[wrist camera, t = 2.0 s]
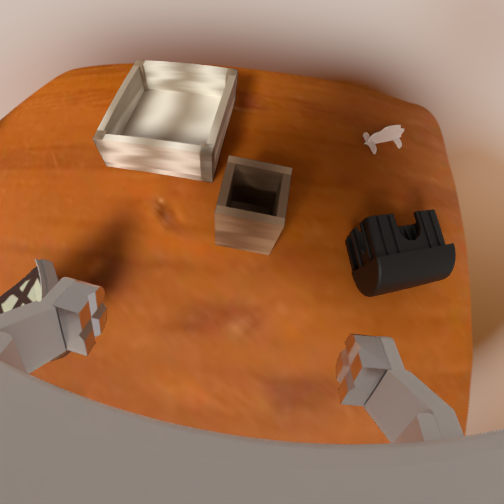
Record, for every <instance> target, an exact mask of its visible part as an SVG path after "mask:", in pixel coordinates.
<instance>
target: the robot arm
mask: <svg viewBox="0 0 504 504" xmlns="http://www.w3.org/2000/svg"><path fill="white" fill-rule="evenodd" d="M104 299H105V291H104V288H103V287H101V286H98V285H94V284H90V283H87V282H83V281H80V280H76V279H72V278H69V277H63V278H62V279H61V280H60V281H59V282H58V283H57V284H56V285H55V286H54V287H53V288H52V289H51V290H50V291H49V292H48V294H47V295H46V296H45V297H44V298H43V299H42V300H41V301H40V302H39V301H34V302H31V303H29V304H26V305H23V306H21V307H18V308H15V309H12V310H10V311H7V312H4V313H2V314H0V504H504V429H500V430H496V431H491V432H486V433H480V434H475V435H469V436H464V435H463V432H462V429H461V427H460V424H459V421H458V419H457V416H456V414H455V411H454V410H453V409H452V408H451V407H450V406H449V405H448V404H446V403H445V402H444V401H443V400H442V399H441V398H440V397H438V396H437V395H436V394H435V393H434V392H433V391H432V390H430V389H429V388H428V387H427V386H426V385H425V384H424V383H422V382H421V381H420V380H419V379H418V378H417V377H416V376H414V375H413V374H412V373H411V372H410V371H405V368H404V365H403V363H402V360H401V358H400V355H399V353H398V350H397V348H396V345H395V343H394V340H393V339H392V338H391V337H381V336H377V337H376V336H367V335H359V334H350V335H349V336H348V337H347V339H346V341H345V345H346V349H344V350H343V351H341V352H340V354H339V357H338V359H337V363H336V379H337V380H338V381H339V382H340V383H341V384H340V386H339V388H338V391H339V397H340V403H341V404H344V405H357V406H364V408H365V410H366V411H367V412H368V414H369V415H370V416H371V417H372V419H373V420H374V421H375V423H376V424H377V425H378V427H379V428H380V429H381V430H382V432H383V433H384V434H385V436H386V437H387V438H388V440H389V441H390V442H391V443H390V444H321V443H303V442H290V441H279V440H269V439H260V438H252V437H245V436H238V435H232V434H225V433H219V432H214V431H208V430H203V429H198V428H193V427H188V426H184V425H179V424H175V423H171V422H166V421H162V420H158V419H154V418H151V417H147V416H143V415H140V414H136V413H132V412H129V411H126V410H122V409H119V408H116V407H113V406H110V405H106V404H103V403H100V402H97V401H95V400H92V399H89V398H86V397H83V396H80V395H78V394H75V393H72V392H70V391H67V390H65V389H62V388H60V387H57V386H55V385H52V384H50V383H48V382H45V381H43V380H41V379H38V378H36V377H34V376H31V375H29V373H31V372H33V371H34V370H36V369H37V368H39V367H41V366H42V365H44V364H45V363H47V362H49V361H50V360H52V359H54V358H55V357H57V356H58V355H60V354H62V353H63V352H65V351H66V350H69V351H73V352H76V353H79V354H82V355H86V356H88V355H89V353H90V351H91V350H92V348H93V346H94V345H95V343H96V342H95V337H96V336H98V335H100V334H101V333H102V332H103V330H104V328H105V324H106V321H107V308H106V307H105V305H104V304H103V303H102V302H103V300H104Z"/></svg>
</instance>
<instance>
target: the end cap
mask: <svg viewBox="0 0 504 504" xmlns="http://www.w3.org/2000/svg"><path fill="white" fill-rule="evenodd" d="M414 216H415V219H416V223H415V224H413V225H406V226H398V227H397V224H396V221H395V218H394V215H393V214H386V215H377V216H370V217H367V218H365V219H364V220H363V221H362V222H361V223H360V227H361V231H359V230H358V228H354V229H353V230H352V231H351V232H350V235H351V236H349V237H347V238H346V240H345V243H346V247H347V251H348V255H349V259H350V264H351V268H352V275H353V279H354V281H355V284H356V286H357V288H358V289H359V291H360V292H361V293H362V294H363V295H365V296H368V297H373V296H377V295H382V294H386V293H390V292H394V291H399V290H403V289H407V288H411V287H415V286H419V285H423V284H427V283H431V282H435V281H439V280H442V279H445V278H447V277H448V276H449V275H450V273H451V272H452V270H453V268H454V264H455V247H454V243H453V244H447V245H445V241H444V238H443V235H442V232H441V228H440V225H439V222H438V219H437V216H436V213H435V210H425V211H416V212H414Z"/></svg>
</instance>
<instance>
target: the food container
mask: <svg viewBox="0 0 504 504" xmlns="http://www.w3.org/2000/svg"><path fill="white" fill-rule="evenodd" d="M35 261H36V264H37V267H36V268H34V269H33V270H32V271H31V272H30V273H29V274H28V275H27V276H26V277H25V278H23V279H22V280H21V281H20V282H19V283H17V284H16V285H15V286H14V287H12V288H11V289H10V290H8V291H7V292H6V293H4V294H3V295H2V296H0V314H2V313H4V312H7V311H10V310H12V309H15V308H18V307H21V306H23V305H26V304H29V303H31V302H34V301H39V302H40V301H41V300H42V299H43V298H44V297H45V296H46V295H47V294H48V292H49V291H50V290H51V289H52V288H53V287H54V286H55V285H56V284H57V283H58V282H59V281H60V280H61V278H60V277H59V276H57V275H56V271H55V269H54V266H53V263H52V262H51V261H48V260H44V259H41V260H37V259H35ZM70 352H71V351H69V350H66V351H65V352H63V353H62V354H60V355H58V356H57V357H55V358H54V359H52V360H50V361H54V360H57V359H60V358H63V357H64V356H66V355H68V354H69V353H70Z"/></svg>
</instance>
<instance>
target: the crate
mask: <svg viewBox="0 0 504 504" xmlns="http://www.w3.org/2000/svg"><path fill="white" fill-rule="evenodd" d="M237 77H238V70H236V69H230V68H223V67H215V66H207V65H198V64H189V63H178V62H164V61H163V62H162V61H145V60H137V61H136V62H135V64H134V65H133V67H132V69H131V70H130V72H129V73H128V75H127V77H126V78H125V80H124V82H123V83H122V85H121V87H120V89H119V90H118V92H117V94H116V96H115V97H114V99H113V101H112V103H111V105H110V106H109V108H108V110H107V112H106V114H105V116H104V118H103V120H102V122H101V123H100V125H99V127H98V129H97V131H96V133H95V135H94V138H93V141H94V143H95V145H96V147H97V148H98V150H99V152H100V154H101V156H102V158H103V160H104V162H105V164H106V166H109V167H117V168H124V169H131V170H138V171H145V172H151V173H158V174H164V175H170V176H176V177H183V178H188V179H194V180H200V181H206V182H211V183H212V181H213V177H214V174H215V170H216V166H217V163H218V159H219V155H220V152H221V148H222V144H223V141H224V137H225V134H226V130H227V127H228V123H229V120H230V116H231V113H232V110H233V106H234V103H235V98H236V87H237Z"/></svg>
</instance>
